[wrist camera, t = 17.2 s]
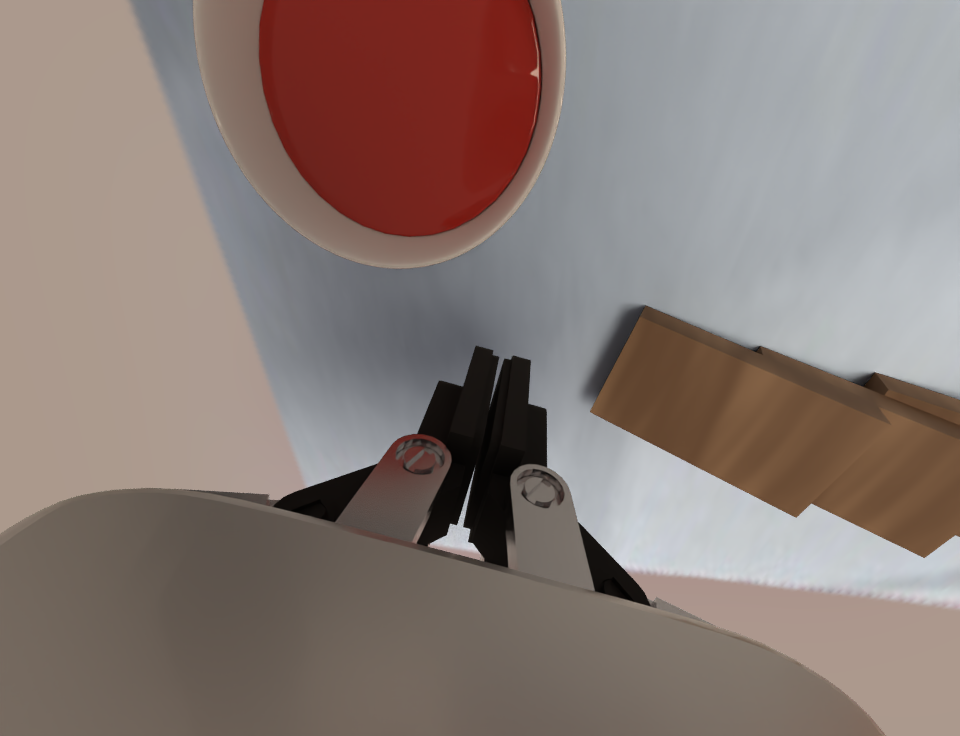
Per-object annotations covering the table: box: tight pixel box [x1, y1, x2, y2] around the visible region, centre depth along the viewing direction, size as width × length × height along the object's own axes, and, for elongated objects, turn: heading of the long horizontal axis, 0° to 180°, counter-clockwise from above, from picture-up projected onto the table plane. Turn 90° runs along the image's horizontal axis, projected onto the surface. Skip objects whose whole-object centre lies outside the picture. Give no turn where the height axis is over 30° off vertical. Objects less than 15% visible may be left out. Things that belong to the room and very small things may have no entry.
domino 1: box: [590, 306, 892, 517], centre depth 17 cm, size 2×5×9 cm
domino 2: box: [757, 346, 960, 558], centre depth 18 cm, size 2×5×9 cm
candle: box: [193, 0, 566, 269], centre depth 13 cm, size 9×9×6 cm
